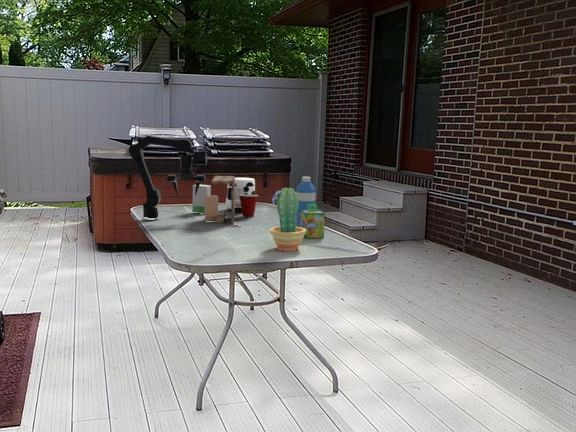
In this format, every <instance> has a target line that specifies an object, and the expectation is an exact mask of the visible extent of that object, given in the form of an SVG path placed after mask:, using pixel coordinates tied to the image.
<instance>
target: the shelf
mask: <svg viewBox="0 0 576 432" xmlns="http://www.w3.org/2000/svg"><path fill="white" fill-rule="evenodd" d="M235 176H236V175H214V176H213V178H212V180H211V184H223V185H224V184H225V185H226V184H227V185H228V184H231V210H230V213H231V218H230V219H231V220H230V221H231V223H230V225H232V226H234V225H235V223H234V222H235V216H236V214H235V213H236V211H235V178H236V177H235ZM225 214H226V213H225V212H221V213H218V217H206V216H204V222H205V221H215V222H214V223H225V220H224V219H226V215H225Z"/></svg>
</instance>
